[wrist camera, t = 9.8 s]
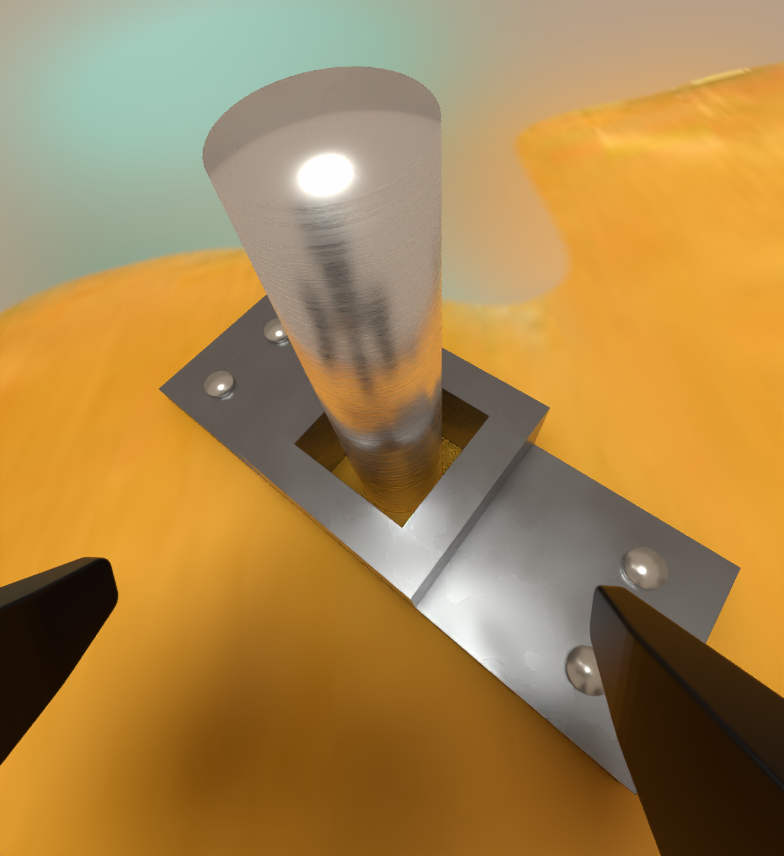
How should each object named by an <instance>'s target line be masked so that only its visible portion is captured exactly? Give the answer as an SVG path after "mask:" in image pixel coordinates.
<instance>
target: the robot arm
mask: <svg viewBox="0 0 784 856" xmlns="http://www.w3.org/2000/svg"><path fill="white" fill-rule="evenodd" d="M117 601H118V590H117V586H116V582H115V578H114V574H113V570H112V566H111V563H110V562H109V561H108V560H107V559H105V558H99V557H83V558H80V559H77V560H75V561H72V562H69V563H66V564H64V565H61V566H58V567H55V568H53V569H50V570H47V571H44V572H42V573H39V574H36V575H33V576H31V577H28V578H25V579H22V580H19V581H17V582H14V583H11V584H8V585H6V586H3V587H0V765H1V764H2V763H3V762H4V760H5V759H6V758H7V757H8V755H9V754H10V753H11V751H12V750H13V749H14V748H15V746H16V745H17V744H18V742H19V741H20V740H21V739H22V737H23V736H24V735H25V733H26V732H27V731H28V730H29V728H30V727H31V726H32V724H33V723H34V722H35V721H36V719H37V718H38V717H39V715H40V714H41V713H42V712H43V710H44V709H45V708H46V706H47V705H48V704H49V703H50V701H51V700H52V699H53V697H54V696H55V695H56V693H57V692H58V691H59V689H60V688H61V687H62V685H63V684H64V683H65V681H66V680H67V678H68V677H69V676H70V674H71V673H72V671H73V670H74V668H75V667H76V665H77V664H78V662H79V661H80V659H81V658H82V656H83V655H84V653H85V652H86V650H87V649H88V647H89V646H90V644H91V643H92V641H93V640H94V638H95V637H96V635H97V634H98V632H99V631H100V629H101V628H102V626H103V625H104V623H105V622H106V620H107V619H108V617H109V615H110V614H111V612H112V611H113V609H114V608H115V606H116V604H117ZM589 632H590V639H591V644H592V647H593V651H594V655H595V659H596V662H597V666H598V670H599V674H600V677H601V681H602V685H603V689H604V692H605V696H606V700H607V704H608V707H609V711H610V715H611V719H612V722H613V726H614V729H615V733H616V736H617V739H618V742H619V745H620V748H621V751H622V754H623V756H624V759H625V762H626V764H627V767H628V770H629V772H630V775H631V778H632V780H633V783H634V786H635V788H636V791H637V794H638V796H639V799H640V802H641V804H642V807H643V810H644V812H645V815H646V818H647V820H648V823H649V825H650V828H651V831H652V833H653V836H654V839H655V841H656V844H657V847H658V849H659V852H660V855H661V856H784V698H783V697H781V696H780V695H779V694H777V693H776V692H774V691H773V690H771V689H770V688H768V687H767V686H766V685H764V684H763V683H761V682H760V681H758V680H757V679H756V678H754V677H753V676H751V675H750V674H748V673H747V672H745V671H744V670H743V669H741V668H740V667H738V666H737V665H735V664H734V663H732V662H731V661H730V660H728V659H727V658H725V657H724V656H722V655H721V654H719V653H718V652H717V651H715V650H714V649H712V648H711V647H709V646H708V645H707V644H705V643H704V642H702V641H701V640H699V639H698V638H696V637H695V636H694V635H692V634H691V633H689V632H688V631H686V630H685V629H683V628H682V627H681V626H679V625H678V624H676V623H675V622H673V621H672V620H670V619H669V618H668V617H666V616H665V615H663V614H662V613H660V612H659V611H657V610H656V609H655V608H653V607H652V606H650V605H649V604H647V603H646V602H645V601H643V600H642V599H640V598H639V597H637V596H636V595H634V594H633V593H632V592H630V591H629V590H627V589H626V588H624V587H621V586H608V585H599V586H597V587H596V588H595V591H594V594H593V602H592V609H591V616H590V624H589Z"/></svg>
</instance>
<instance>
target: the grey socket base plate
mask: <svg viewBox="0 0 784 856" xmlns="http://www.w3.org/2000/svg"><path fill="white" fill-rule="evenodd" d="M159 390H160V391H161V392H163V393H164V394H165V395H166V396H167V397H168V398H169V399H170V400H171V401H172V402H174V403H175V404H176V405H177V406H178V407H180V408H181V409H182V410H183V411H184V412H185V413H187V414H188V415H189V416H190V417H191V418H192V419H194V420H195V421H196V422H197V423H198V424H199V425H201V426H202V427H203V428H204V429H205V430H207V431H208V432H209V433H210V434H211V435H212V436H214V437H215V438H216V439H217V440H218V441H219V442H221V443H222V444H223V445H224V446H225V447H226V448H228V449H229V450H230V451H231V452H232V453H234V454H235V455H236V456H237V457H238V458H239V459H241V460H242V461H243V462H244V463H245V464H246V465H248V466H249V467H250V468H251V469H252V470H253V471H255V472H256V473H257V474H258V475H259V476H260V477H262V478H263V479H264V480H265V481H266V482H268V483H269V484H270V485H271V486H272V487H273V488H275V489H276V490H277V491H278V492H279V493H280V494H282V495H283V496H284V497H285V498H286V499H287V500H289V501H290V502H291V503H292V504H293V505H295V506H296V507H297V508H298V509H299V510H300V511H302V512H303V513H304V514H305V515H306V516H307V517H309V518H310V519H311V520H312V521H313V522H314V523H316V524H317V525H318V526H319V527H320V528H322V529H323V530H324V531H325V532H326V533H327V534H329V535H330V536H331V537H332V538H333V539H334V540H336V541H337V542H338V543H339V544H340V545H341V546H343V547H344V548H345V549H346V550H347V551H349V552H350V553H351V554H352V555H353V556H354V557H356V558H357V559H358V560H359V561H360V562H361V563H363V564H364V565H365V566H366V567H367V568H368V569H370V570H371V571H372V572H373V573H374V574H376V575H377V576H378V577H379V578H380V579H381V580H383V581H384V582H385V583H386V584H387V585H388V586H390V587H391V588H392V589H393V590H394V591H395V592H397V593H398V594H399V595H400V596H401V597H403V598H404V599H405V600H406V601H407V602H408V603H410V604H411V605H412V606H413V607H414V608H415V609H417V610H418V611H419V612H420V613H421V614H422V615H424V616H425V617H426V618H427V619H428V620H430V621H431V622H432V623H433V624H434V625H435V626H437V627H438V628H439V629H440V630H441V631H442V632H444V633H445V634H446V635H447V636H448V637H449V638H451V639H452V640H453V641H454V642H455V643H456V644H458V645H459V646H460V647H461V648H462V649H464V650H465V651H466V652H467V653H468V654H469V655H471V656H472V657H473V658H474V659H475V660H476V661H478V662H479V663H480V664H481V665H482V666H483V667H485V668H486V669H487V670H488V671H489V672H491V673H492V674H493V675H494V676H495V677H496V678H498V679H499V680H500V681H501V682H502V683H503V684H505V685H506V686H507V687H508V688H509V689H510V690H512V691H513V692H514V693H515V694H516V695H518V696H519V697H520V698H521V699H522V700H523V701H525V702H526V703H527V704H528V705H529V706H530V707H532V708H533V709H534V710H535V711H536V712H537V713H539V714H540V715H541V716H542V717H543V718H545V719H546V720H547V721H548V722H549V723H550V724H552V725H553V726H554V727H555V728H556V729H557V730H559V731H560V732H561V733H562V734H563V735H564V736H566V737H567V738H568V739H569V740H570V741H572V742H573V743H574V744H575V745H576V746H577V747H579V748H580V749H581V750H582V751H583V752H584V753H586V754H587V755H588V756H589V757H590V758H591V759H593V760H594V761H595V762H596V763H597V764H599V765H600V766H601V767H602V768H603V769H604V770H606V771H607V772H608V773H609V774H610V775H611V776H613V777H614V778H615V779H616V780H617V781H618V782H620V783H621V784H622V785H623V786H625V787H626V788H627V789H629V790H630V791H631V792H633V793H634V794H635V795H636V792H637V791H636V788H635V786H634V783H633V780H632V778H631V775H630V772H629V770H628V767H627V764H626V762H625V759H624V756H623V754H622V751H621V748H620V745H619V742H618V739H617V736H616V733H615V729H614V726H613V722H612V719H611V715H610V711H609V707H608V704H607V700H606V696H605V692H604V689H603V685H602V681H601V677H600V674H599V670H598V666H597V662H596V659H595V655H594V651H593V647H592V644H591V639H590V632H589V624H590V616H591V609H592V602H593V594H594V591H595V588H596V587H597V586H599V585H608V586H621V587H624V588H626V589H627V590H629V591H630V592H632V593H633V594H634V595H636V596H637V597H639V598H640V599H642V600H643V601H645V602H646V603H647V604H649V605H650V606H652V607H653V608H655V609H656V610H657V611H659V612H660V613H662V614H663V615H665V616H666V617H668V618H669V619H670V620H672V621H673V622H675V623H676V624H678V625H679V626H681V627H682V628H683V629H685V630H686V631H688V632H689V633H691V634H692V635H694V636H695V637H696V638H698V639H699V640H701V641H702V642H704V643H705V644H706V642H707V639H708V637H709V635H710V633H711V631H712V629H713V626H714V624H715V622H716V620H717V618H718V616H719V614H720V611H721V609H722V607H723V605H724V603H725V601H726V598H727V596H728V594H729V592H730V590H731V588H732V586H733V583H734V581H735V579H736V577H737V575H738V573H739V570H740V567H738V566H736V565H735V564H733V563H731V562H730V561H728V560H726V559H725V558H723V557H721V556H720V555H718V554H716V553H715V552H713V551H711V550H710V549H708V548H706V547H705V546H703V545H701V544H700V543H698V542H696V541H695V540H693V539H691V538H690V537H688V536H686V535H685V534H683V533H681V532H680V531H678V530H676V529H675V528H673V527H671V526H670V525H668V524H666V523H665V522H663V521H661V520H660V519H658V518H656V517H655V516H653V515H651V514H650V513H648V512H646V511H645V510H643V509H641V508H640V507H638V506H636V505H635V504H633V503H631V502H630V501H628V500H626V499H625V498H623V497H621V496H620V495H618V494H616V493H615V492H613V491H611V490H610V489H608V488H606V487H605V486H603V485H601V484H600V483H598V482H596V481H595V480H593V479H591V478H590V477H588V476H586V475H585V474H583V473H581V472H580V471H578V470H576V469H575V468H573V467H571V466H570V465H568V464H566V463H565V462H563V461H561V460H560V459H558V458H556V457H554V456H553V455H551V454H549V453H548V452H546V451H544V450H543V449H541V448H539V447H538V446H536V445H534V442H535V440H536V438H537V436H538V433H539V431H540V429H541V427H542V424H543V422H544V420H545V418H546V415H547V413H548V411H549V409H550V407H548V406H546V405H544V404H542V403H541V402H539V401H537V400H535V399H533V398H532V397H530V396H528V395H526V394H524V393H523V392H521V391H519V390H517V389H515V388H514V387H512V386H510V385H508V384H506V383H505V382H503V381H501V380H499V379H497V378H496V377H494V376H492V375H490V374H488V373H487V372H485V371H483V370H481V369H479V368H478V367H476V366H474V365H472V364H470V363H469V362H467V361H465V360H463V359H461V358H460V357H458V356H456V355H454V354H452V353H451V352H449V351H447V350H445V349H443V348H442V436H443V437H445V438H447V439H448V440H450V441H451V442H453V443H454V444H456V445H457V446H459V447H460V448H462V449H464V450H463V451H462V452H461V453H460V455H459V456H458V457H457V458H456V460H455V461H454V462H453V464H452V465H451V466H450V467H449V469H448V470H447V471H446V472H445V474H444V475H443V476H442V478H441V479H440V480H439V481H438V483H437V484H436V485H435V487H434V488H433V489H432V490H431V492H430V493H429V494H428V495H427V497H426V498H425V499H424V501H423V502H422V503H421V504H420V506H419V507H418V508H417V509H416V511H415V512H414V513H413V515H412V516H411V517H410V518H409V520H408V521H407V522H406V523H405V525H404V526H403V527H400V526H399V525H398V524H396V523H395V522H394V521H392V520H391V519H390V518H389V517H387V516H386V515H385V514H383V513H382V512H381V511H380V510H378V509H377V508H376V507H374V506H373V505H372V504H371V503H369V502H368V501H367V500H365V499H364V498H363V497H362V496H360V495H359V494H358V493H356V492H355V491H354V490H353V489H351V488H350V487H349V486H347V485H346V484H345V483H344V482H342V481H341V480H340V479H338V478H337V477H336V476H335V475H333V474H332V473H331V471H332V470H333V469H334V468H335V467H336V465H337V464H338V463H339V462H340V461H341V460H342V459H343V458H344V456H345V455H346V454H345V451H344V449H343V447H342V445H341V443H340V441H339V439H338V437H337V435H336V433H335V431H334V429H333V427H332V425H331V423H330V421H329V419H328V417H327V415H326V413H325V411H324V409H323V407H322V405H321V403H320V401H319V399H318V397H317V395H316V393H315V391H314V389H313V387H312V385H311V383H310V381H309V379H308V377H307V374H306V372H305V370H304V368H303V366H302V364H301V362H300V360H299V358H298V356H297V354H296V352H295V350H294V348H293V346H292V344H291V342H290V340H289V338H288V336H287V334H286V332H285V330H284V328H283V326H282V324H281V322H280V320H279V318H278V316H277V314H276V312H275V310H274V308H273V306H272V304H271V302H270V300H269V297H268V295H266V296H265V297H263V298H262V299H261V300H260V301H259V302H258V303H256V304H255V305H254V306H253V307H252V308H251V309H250V310H248V311H247V312H246V313H245V314H244V315H243V316H242V317H240V318H239V319H238V320H237V321H236V322H235V323H234V324H232V325H231V326H230V327H229V328H228V329H227V330H226V331H224V332H223V333H222V334H221V335H220V336H219V337H218V338H216V339H215V340H214V341H213V342H212V343H211V344H210V345H208V346H207V347H206V348H205V349H204V350H203V351H202V352H200V353H199V354H198V355H197V356H196V357H195V358H194V359H192V360H191V361H190V362H189V363H188V364H187V365H186V366H184V367H183V368H182V369H181V370H180V371H179V372H178V373H176V374H175V375H174V376H173V377H172V378H171V379H169V380H168V381H167V382H166V383H165V384H164V385H163V386H161V387H160V388H159Z"/></svg>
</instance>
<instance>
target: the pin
mask: <svg viewBox="0 0 784 856" xmlns="http://www.w3.org/2000/svg"><path fill="white" fill-rule="evenodd" d="M203 163H204V167H205V169H206V172H207V174H208V176H209V178H210V180H211V182H212V184H213V186H214V188H215V190H216V192H217V194H218V196H219V198H220V200H221V202H222V204H223V206H224V208H225V210H226V212H227V214H228V216H229V218H230V220H231V223H232V224H233V227H234V229H235V231H236V233H237V234H238V237H239V238H240V241H241V243H242V245H243V247H244V249H245V251H246V253H247V255H248V257H249V259H250V261H251V263H252V265H253V267H254V269H255V271H256V273H257V275H258V277H259V279H260V281H261V283H262V285H263V287H264V289H265V291H266V293H267V295H268V297H269V300H270V302H271V304H272V306H273V308H274V310H275V312H276V314H277V316H278V318H279V320H280V322H281V324H282V326H283V328H284V330H285V332H286V334H287V336H288V338H289V340H290V342H291V344H292V346H293V348H294V350H295V352H296V354H297V356H298V358H299V360H300V362H301V364H302V366H303V368H304V370H305V372H306V374H307V377H308V379H309V381H310V383H311V385H312V387H313V389H314V391H315V393H316V395H317V397H318V399H319V401H320V403H321V405H322V407H323V409H324V411H325V413H326V415H327V417H328V419H329V421H330V423H331V425H332V427H333V429H334V431H335V433H336V435H337V437H338V439H339V441H340V443H341V445H342V447H343V449H344V451H345V454H346V456H347V458H348V460H349V462H350V464H351V466H352V468H353V470H354V472H355V474H356V476H357V478H358V480H359V482H360V484H361V486H362V488H363V490H364V492H365V494H366V495H367V497H368V498H369V499H370V500H371V501H372V502H373V503H374V504H375V505H377V506H378V507H380V508H382V509H384V510H388V511H392V512H408V511H412V510H415V509H417V508H418V507H419V506H420V504H421V503H422V502H423V501H424V499H425V498H426V497H427V495H428V494H429V493H430V492H431V490H432V489H433V488H434V487H435V485H436V484H437V483H438V481H439V480H440V479H441V478H442V314H441V112H440V107H439V104H438V102H437V100H436V98H435V97H434V95H433V94H432V93H431V91H430V90H428V89H427V88H426V87H425V86H424V85H423V84H421V83H420V82H418V81H416V80H415V79H413V78H411V77H408V76H406V75H404V74H401V73H398V72H394V71H390V70H385V69H380V68H372V67H337V68H327V69H321V70H314V71H310V72H306V73H301V74H298V75H294V76H291V77H288V78H285V79H282V80H279V81H276V82H274V83H272V84H269V85H267V86H265V87H263V88H261V89H259V90H257V91H255V92H253V93H251V94H250V95H248V96H246V97H245V98H243V99H242V100H240V101H239V102H238V103H236V104H235V105H233V106H232V107H231V108H230V109H229V110H228V111H227V112H225V113H224V114H223V115H222V116H221V117H220V119H219V120H218V121H217V122H216V123H215V124H214V126H213V127H212V129H211V130H210V132H209V134H208V136H207V138H206V140H205V144H204V147H203Z"/></svg>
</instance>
